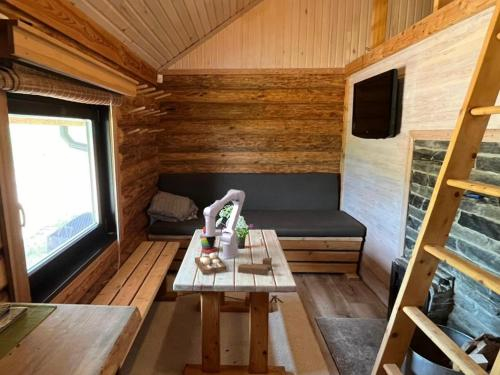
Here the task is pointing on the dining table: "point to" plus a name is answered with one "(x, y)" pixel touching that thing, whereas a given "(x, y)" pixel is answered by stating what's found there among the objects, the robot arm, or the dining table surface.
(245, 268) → the wooden block set
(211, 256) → the button
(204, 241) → the stacking bear
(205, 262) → the button
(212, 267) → the button board
